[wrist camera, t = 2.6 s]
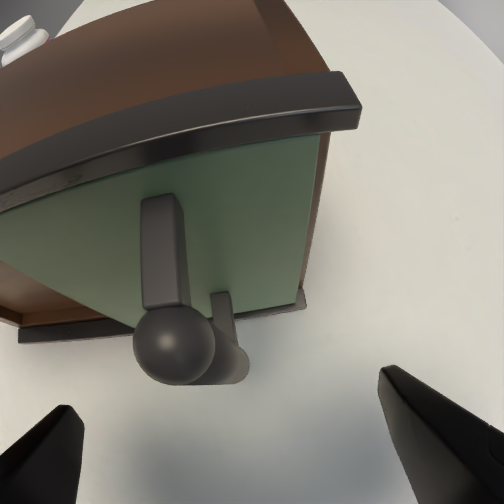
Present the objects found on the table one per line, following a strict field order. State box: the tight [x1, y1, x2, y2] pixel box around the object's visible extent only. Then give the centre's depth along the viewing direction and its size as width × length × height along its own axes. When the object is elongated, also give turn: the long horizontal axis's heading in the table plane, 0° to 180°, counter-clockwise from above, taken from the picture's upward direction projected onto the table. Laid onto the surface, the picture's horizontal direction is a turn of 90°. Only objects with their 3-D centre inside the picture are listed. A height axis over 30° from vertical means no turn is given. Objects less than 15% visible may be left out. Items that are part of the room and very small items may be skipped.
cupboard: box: [0, 0, 362, 344], centre depth 13 cm, size 8×20×14 cm, turn 99°
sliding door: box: [0, 133, 320, 385], centre depth 11 cm, size 4×9×13 cm, turn 99°
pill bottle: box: [0, 15, 51, 67], centre depth 24 cm, size 6×6×11 cm
